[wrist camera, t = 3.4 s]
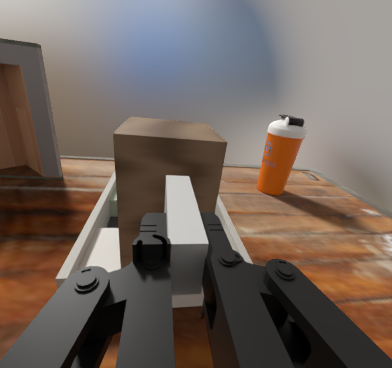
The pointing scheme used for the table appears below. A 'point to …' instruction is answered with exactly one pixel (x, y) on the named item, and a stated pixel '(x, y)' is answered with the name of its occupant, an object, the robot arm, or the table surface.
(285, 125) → the shaker bottle
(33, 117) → the cabinet
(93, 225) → the box
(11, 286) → the table surface
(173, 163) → the walnut block
